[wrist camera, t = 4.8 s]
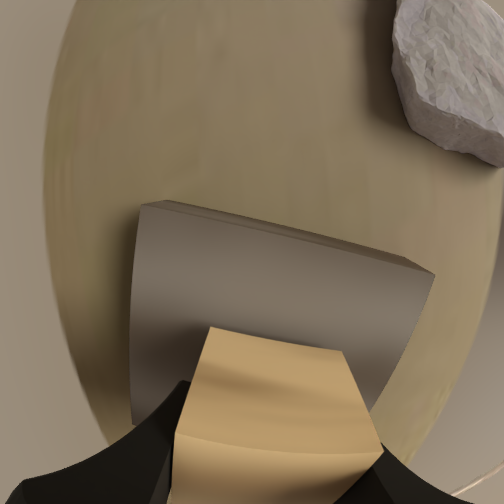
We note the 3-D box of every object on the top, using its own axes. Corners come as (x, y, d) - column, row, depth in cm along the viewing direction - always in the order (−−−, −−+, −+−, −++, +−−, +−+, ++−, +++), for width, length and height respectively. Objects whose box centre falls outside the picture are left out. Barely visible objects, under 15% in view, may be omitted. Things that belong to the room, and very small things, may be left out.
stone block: (379, 140, 13) (511, 179, 11) (403, 115, 9) (556, 176, 7) (371, -7, 11) (490, 35, 9) (379, -50, 6) (516, 8, 4)
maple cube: (300, 433, 11) (311, 520, 6) (194, 416, 11) (170, 505, 6) (341, 351, 10) (383, 451, 5) (210, 326, 10) (175, 432, 5)
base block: (328, 425, 16) (335, 458, 13) (148, 392, 15) (132, 424, 12) (404, 257, 13) (435, 274, 10) (167, 199, 12) (141, 204, 10)
